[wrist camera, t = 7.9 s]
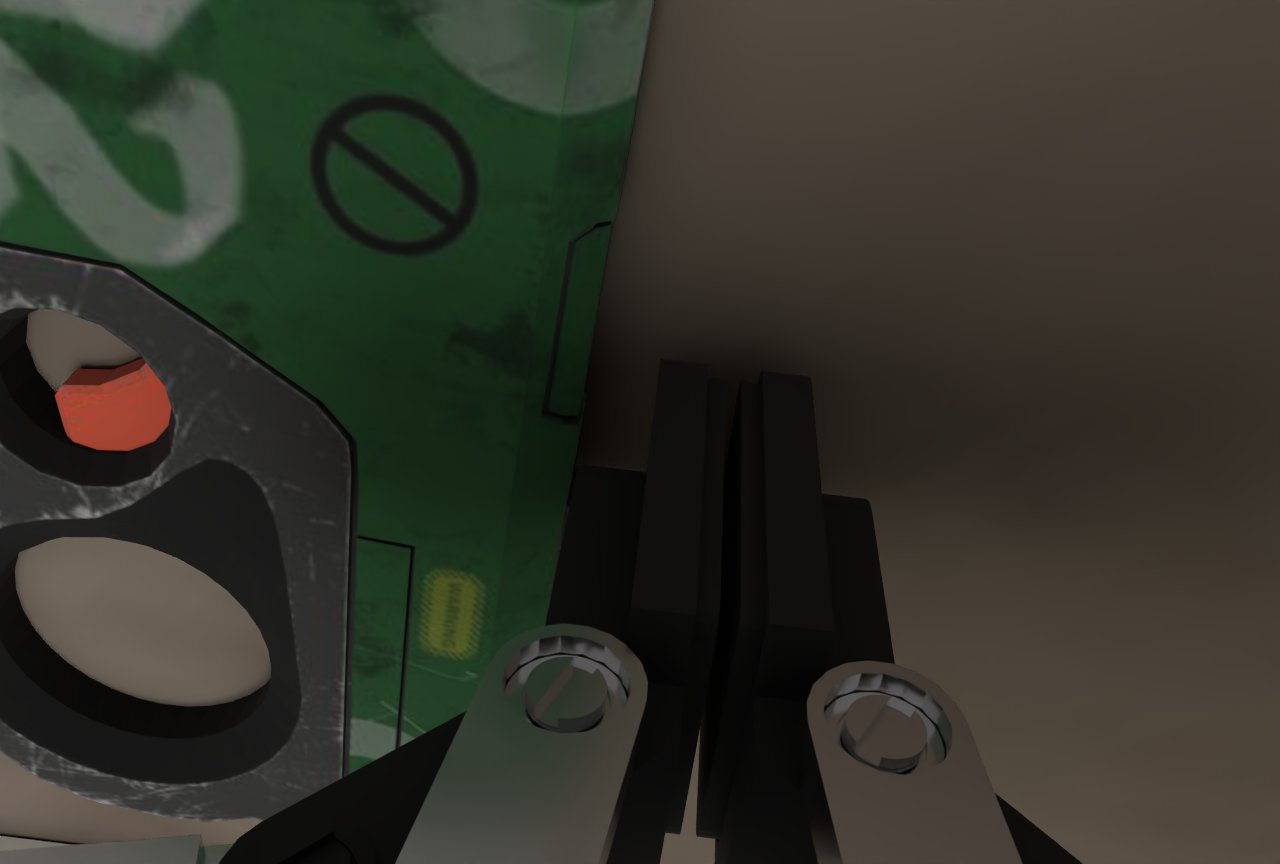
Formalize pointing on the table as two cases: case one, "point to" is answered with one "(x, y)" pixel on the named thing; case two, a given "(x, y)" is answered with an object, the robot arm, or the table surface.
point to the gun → (301, 354)
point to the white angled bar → (24, 843)
